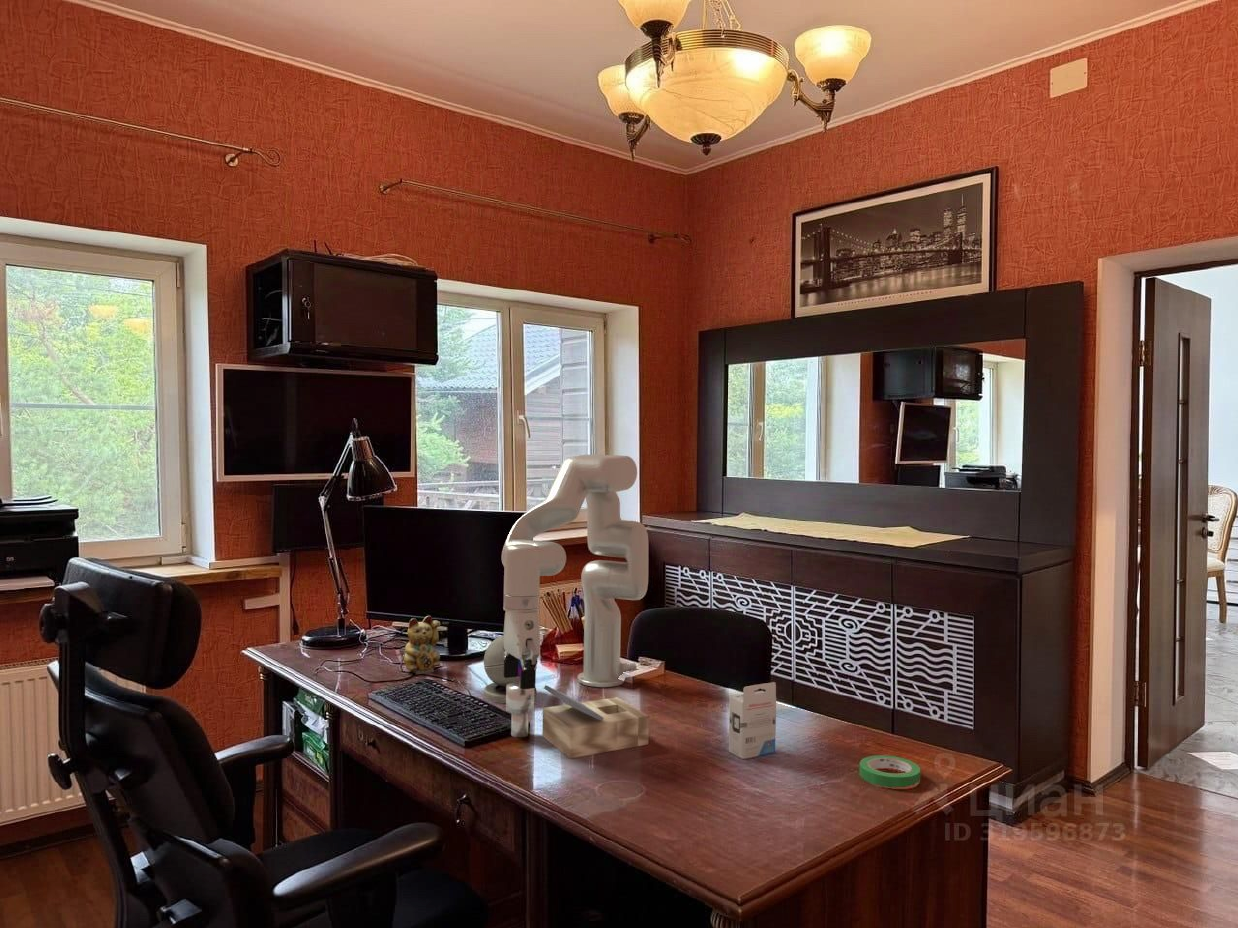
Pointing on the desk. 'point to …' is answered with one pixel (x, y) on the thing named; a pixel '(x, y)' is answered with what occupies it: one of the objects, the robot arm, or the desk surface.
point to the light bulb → (519, 707)
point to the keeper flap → (573, 703)
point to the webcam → (498, 672)
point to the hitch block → (595, 727)
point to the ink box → (753, 721)
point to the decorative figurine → (422, 646)
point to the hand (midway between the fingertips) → (519, 682)
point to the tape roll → (889, 779)
